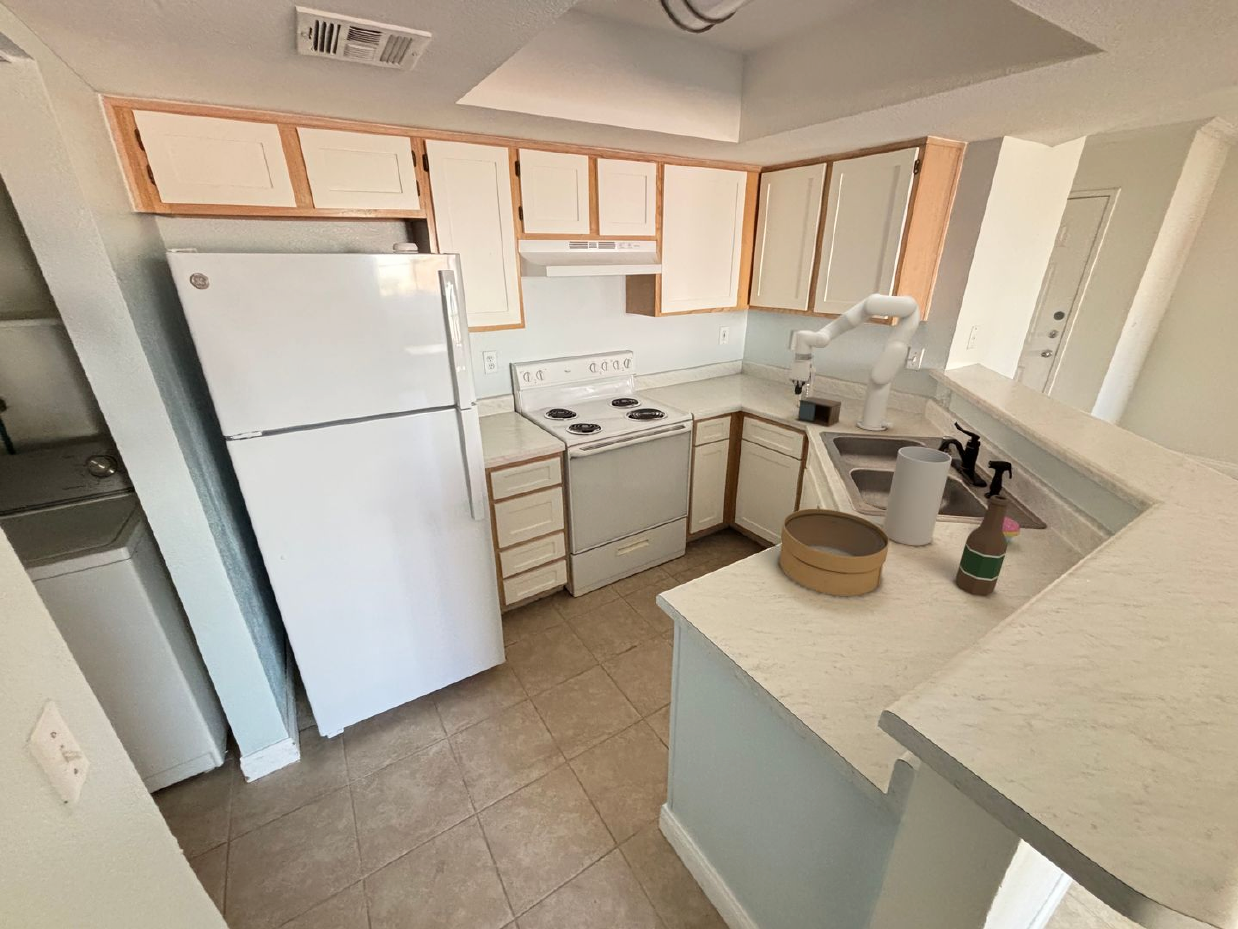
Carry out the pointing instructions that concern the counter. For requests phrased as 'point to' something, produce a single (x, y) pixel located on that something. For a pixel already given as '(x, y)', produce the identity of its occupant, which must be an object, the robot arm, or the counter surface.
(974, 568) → the beer bottle
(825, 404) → the cabinet
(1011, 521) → the cupcake
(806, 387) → the water bottle
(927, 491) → the cylinder vase
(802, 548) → the steamer basket
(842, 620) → the counter surface
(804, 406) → the glass door
